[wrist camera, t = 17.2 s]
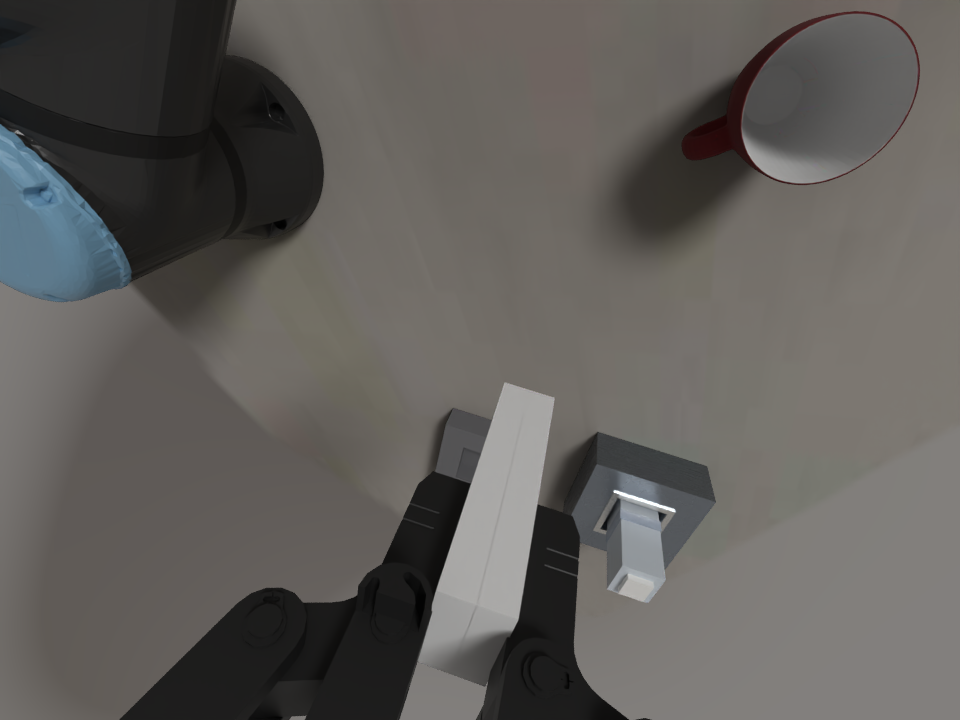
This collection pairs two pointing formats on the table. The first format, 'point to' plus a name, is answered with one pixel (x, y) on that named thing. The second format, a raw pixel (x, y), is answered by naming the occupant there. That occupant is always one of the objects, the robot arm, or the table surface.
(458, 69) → the table surface
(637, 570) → the plug
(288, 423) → the table surface
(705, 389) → the table surface
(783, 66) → the mug
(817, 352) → the table surface
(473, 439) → the holster
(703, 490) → the port
